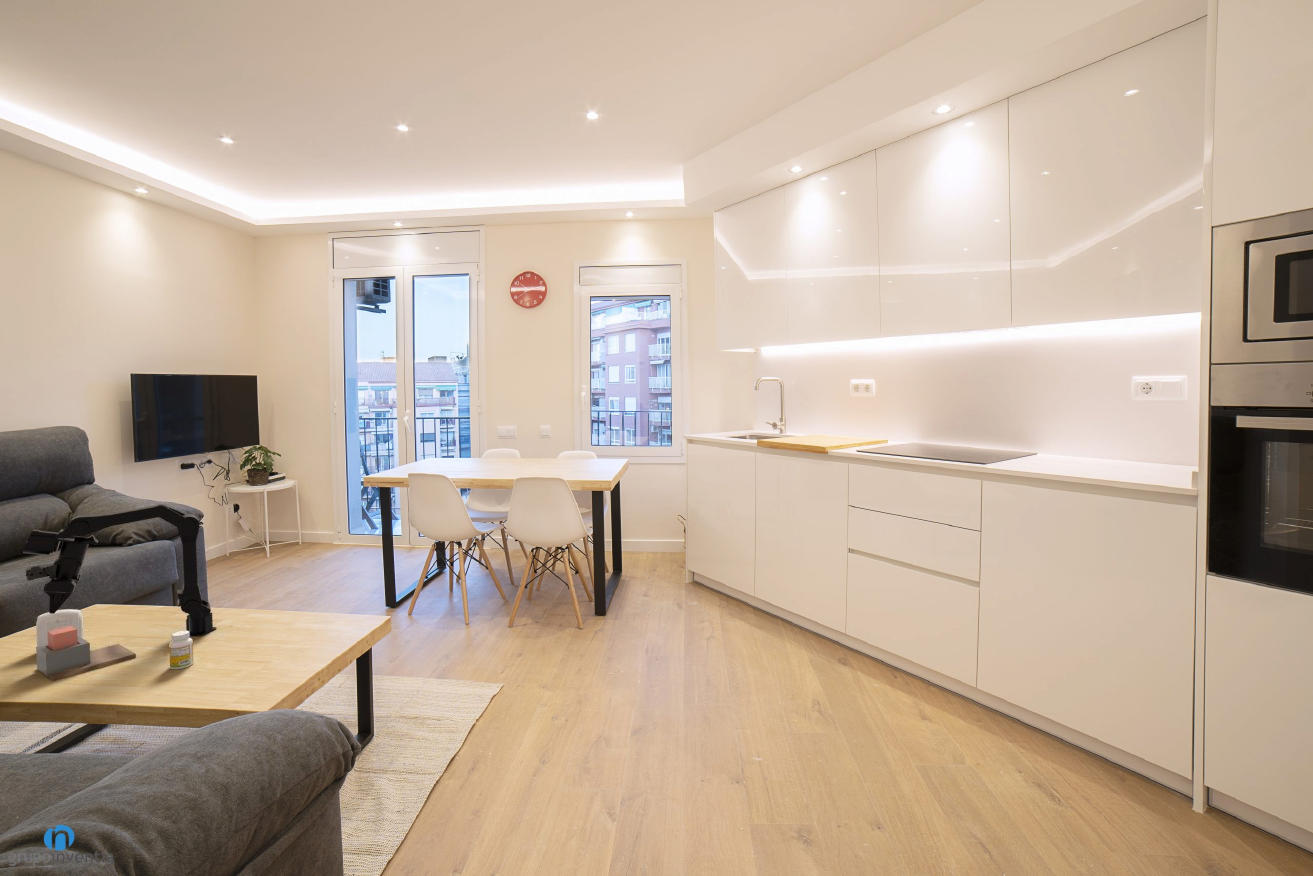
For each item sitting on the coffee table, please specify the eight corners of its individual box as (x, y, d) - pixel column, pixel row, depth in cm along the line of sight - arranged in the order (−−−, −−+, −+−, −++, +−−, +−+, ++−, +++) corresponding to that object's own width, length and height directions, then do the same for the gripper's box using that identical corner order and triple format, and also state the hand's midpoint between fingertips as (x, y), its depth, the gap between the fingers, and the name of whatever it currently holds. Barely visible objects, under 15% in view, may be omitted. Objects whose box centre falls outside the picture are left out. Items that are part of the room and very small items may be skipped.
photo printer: (85, 643, 187) (83, 605, 187) (81, 648, 184) (79, 609, 183) (39, 651, 182) (37, 611, 181) (35, 655, 178) (33, 615, 178)
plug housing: (80, 656, 175) (79, 636, 175) (90, 663, 170) (89, 643, 170) (37, 667, 167) (36, 647, 167) (46, 675, 163) (45, 654, 162)
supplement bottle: (178, 662, 174) (177, 629, 174) (198, 661, 174) (196, 629, 174) (165, 670, 169) (163, 637, 168) (185, 669, 169) (183, 636, 169)
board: (118, 647, 184) (118, 643, 184) (136, 657, 177) (135, 653, 177) (37, 669, 169) (36, 665, 169) (52, 681, 162) (52, 676, 162)
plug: (72, 646, 172) (71, 625, 172) (78, 649, 169) (77, 629, 169) (48, 652, 168) (47, 631, 167) (53, 655, 165) (52, 634, 165)
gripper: (39, 548, 179) (21, 599, 177) (27, 560, 164) (8, 616, 162) (88, 552, 186) (72, 601, 184) (81, 564, 171) (64, 618, 169)
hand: (54, 609), depth 175 cm, fingers open, 9 cm apart
